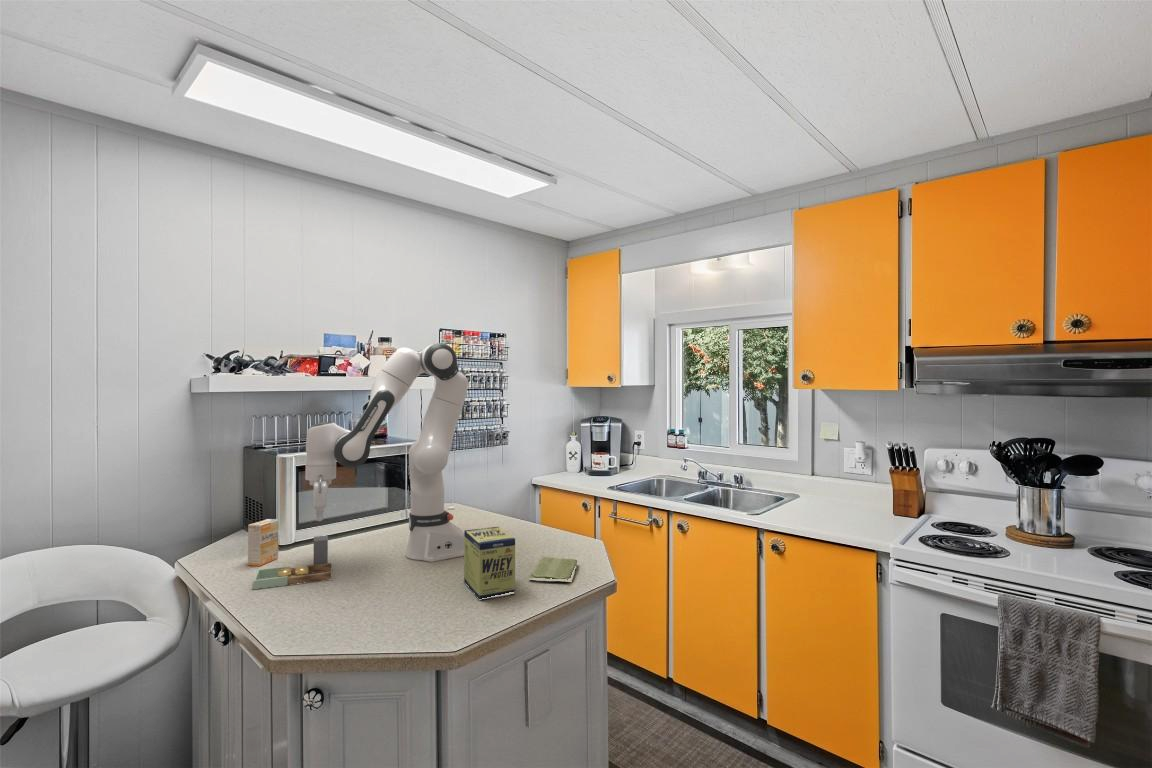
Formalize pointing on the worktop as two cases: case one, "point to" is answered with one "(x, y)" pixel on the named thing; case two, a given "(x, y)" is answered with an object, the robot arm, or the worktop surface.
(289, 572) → the puck
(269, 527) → the supplement box
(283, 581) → the chip tray
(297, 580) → the slot rails
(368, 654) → the worktop surface
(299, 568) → the puck
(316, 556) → the rake block
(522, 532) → the worktop surface
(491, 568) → the protein box
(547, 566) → the washcloth
